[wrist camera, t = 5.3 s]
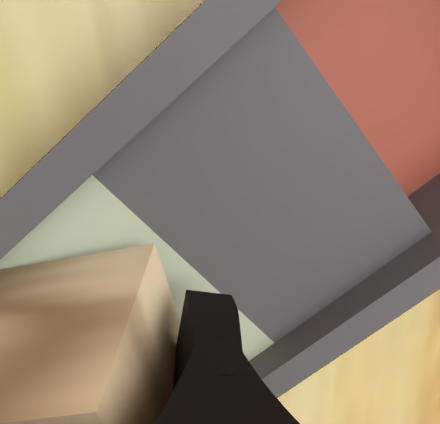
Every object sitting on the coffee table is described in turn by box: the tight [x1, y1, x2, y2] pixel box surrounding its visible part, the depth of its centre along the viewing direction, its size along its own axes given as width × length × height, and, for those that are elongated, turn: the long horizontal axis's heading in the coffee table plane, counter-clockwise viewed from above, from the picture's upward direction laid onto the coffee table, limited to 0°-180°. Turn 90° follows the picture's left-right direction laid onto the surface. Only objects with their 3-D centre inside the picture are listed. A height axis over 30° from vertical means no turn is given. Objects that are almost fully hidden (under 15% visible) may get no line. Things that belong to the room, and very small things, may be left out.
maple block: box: [0, 243, 180, 424], centre depth 10 cm, size 5×5×5 cm
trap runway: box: [0, 0, 440, 398], centre depth 13 cm, size 28×10×4 cm, turn 130°
